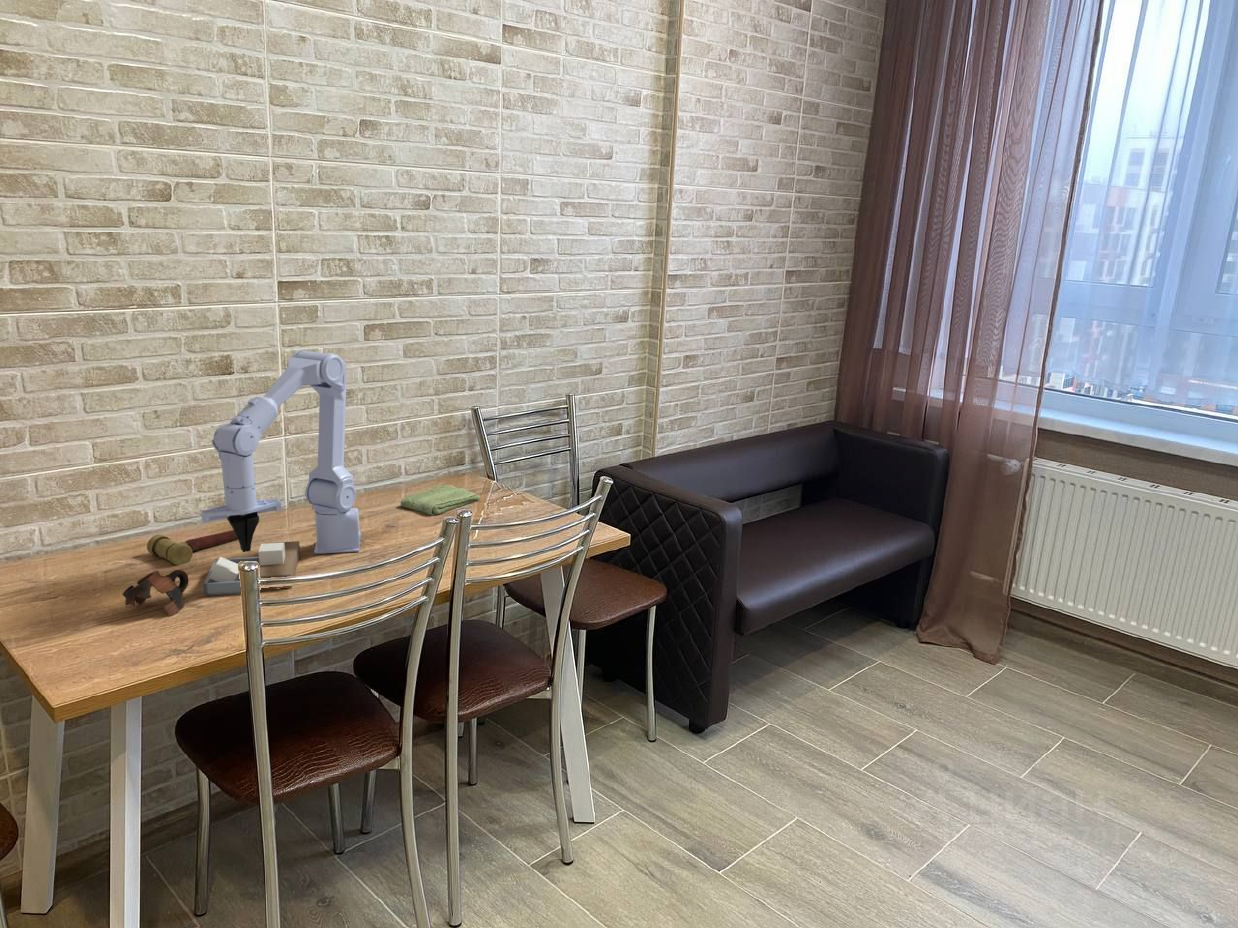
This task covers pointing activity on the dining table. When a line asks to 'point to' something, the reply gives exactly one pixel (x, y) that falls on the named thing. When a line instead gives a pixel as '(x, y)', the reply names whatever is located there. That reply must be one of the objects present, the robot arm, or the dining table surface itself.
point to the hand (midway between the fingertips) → (245, 550)
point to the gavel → (186, 546)
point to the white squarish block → (224, 571)
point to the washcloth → (439, 499)
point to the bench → (282, 569)
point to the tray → (224, 587)
